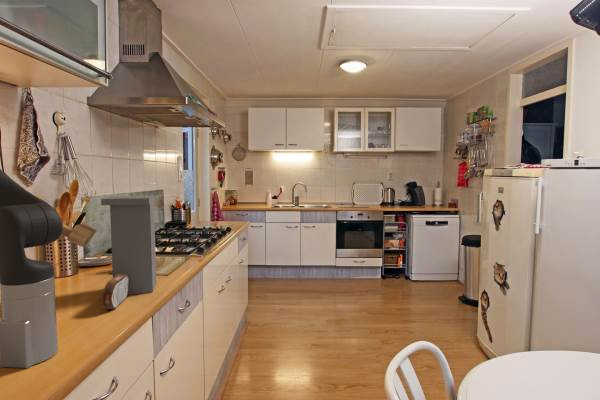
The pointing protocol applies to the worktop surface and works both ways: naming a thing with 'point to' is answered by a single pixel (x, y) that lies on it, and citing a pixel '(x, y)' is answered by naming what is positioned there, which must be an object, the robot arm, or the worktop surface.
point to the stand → (133, 240)
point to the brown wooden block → (79, 233)
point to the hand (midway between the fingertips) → (56, 220)
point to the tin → (115, 291)
